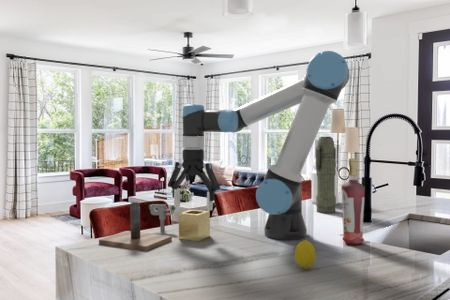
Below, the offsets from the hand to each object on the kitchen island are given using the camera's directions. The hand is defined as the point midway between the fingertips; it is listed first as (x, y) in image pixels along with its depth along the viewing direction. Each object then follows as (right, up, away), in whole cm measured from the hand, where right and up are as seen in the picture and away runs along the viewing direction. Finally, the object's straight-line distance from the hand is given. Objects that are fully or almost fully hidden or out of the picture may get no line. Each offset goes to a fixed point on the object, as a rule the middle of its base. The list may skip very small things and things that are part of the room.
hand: (193, 208), depth 145 cm
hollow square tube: (+1, -10, 0) cm, 10 cm away
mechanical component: (-13, -10, +11) cm, 20 cm away
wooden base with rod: (-19, -11, -5) cm, 23 cm away
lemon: (+33, -11, -35) cm, 50 cm away
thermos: (+59, -8, +46) cm, 75 cm away
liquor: (+54, -10, -10) cm, 56 cm away
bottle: (+64, -7, +69) cm, 94 cm away
